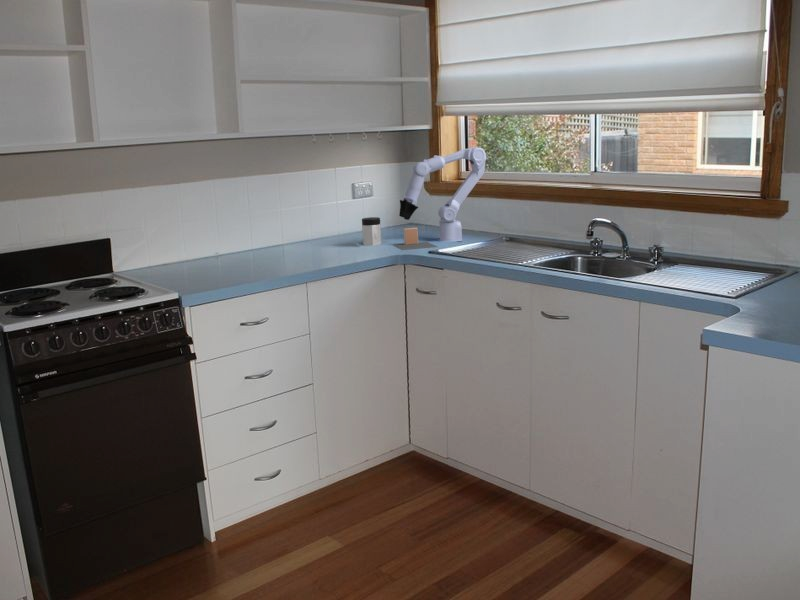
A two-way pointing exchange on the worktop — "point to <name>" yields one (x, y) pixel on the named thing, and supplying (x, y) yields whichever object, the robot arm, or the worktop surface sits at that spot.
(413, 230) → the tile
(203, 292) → the worktop surface
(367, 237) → the jar
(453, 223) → the robot arm
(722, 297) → the worktop surface
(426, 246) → the mat
